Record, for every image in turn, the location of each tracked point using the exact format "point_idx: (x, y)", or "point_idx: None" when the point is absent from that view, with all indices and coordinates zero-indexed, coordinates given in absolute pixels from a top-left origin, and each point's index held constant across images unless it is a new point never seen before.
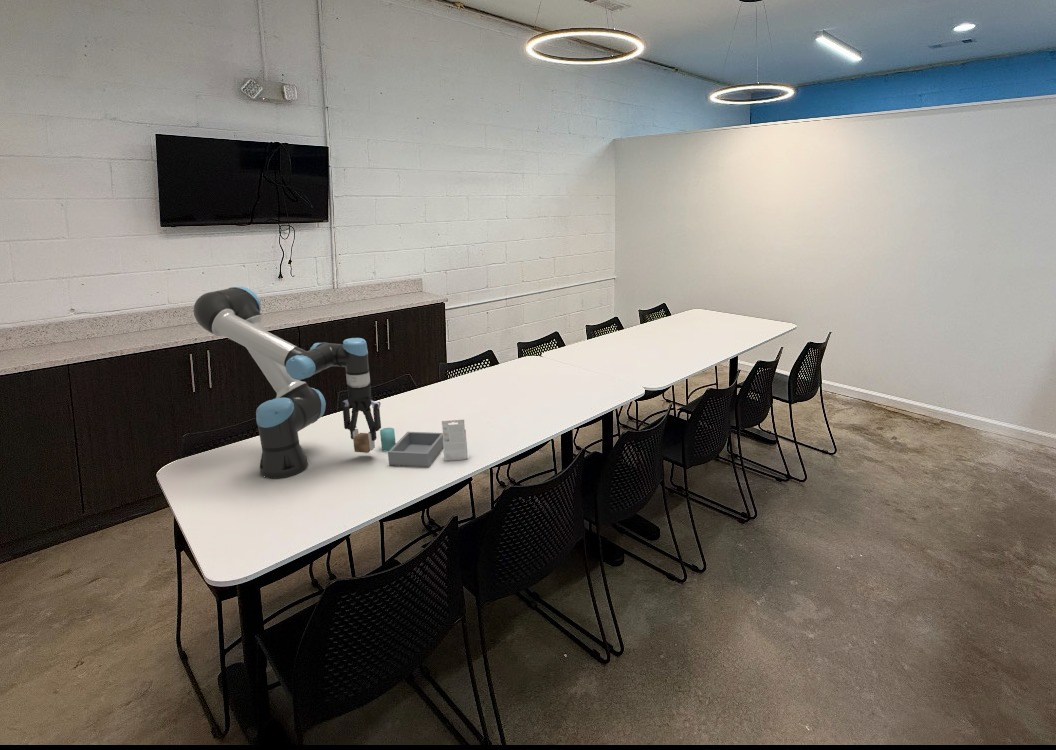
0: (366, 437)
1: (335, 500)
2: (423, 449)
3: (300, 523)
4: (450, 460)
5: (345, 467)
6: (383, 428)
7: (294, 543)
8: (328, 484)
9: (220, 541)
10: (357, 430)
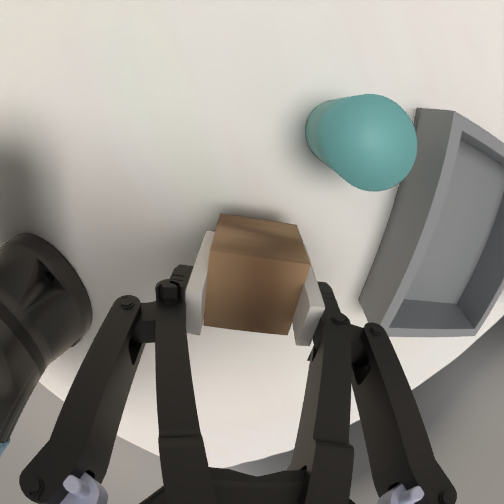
0: (277, 314)
1: (251, 417)
2: (469, 194)
3: (222, 443)
4: None
5: None
6: (343, 104)
7: (237, 458)
8: (203, 377)
9: (146, 444)
10: (202, 298)
